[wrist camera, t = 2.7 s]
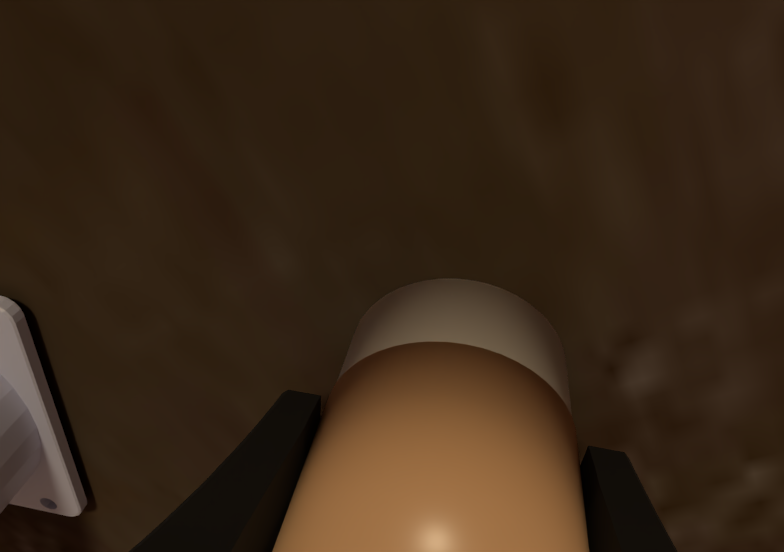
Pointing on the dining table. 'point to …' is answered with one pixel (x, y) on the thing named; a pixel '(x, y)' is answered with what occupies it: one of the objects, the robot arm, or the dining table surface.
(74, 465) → the robot arm
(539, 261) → the dining table surface
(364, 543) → the bobbin
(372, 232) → the dining table surface
